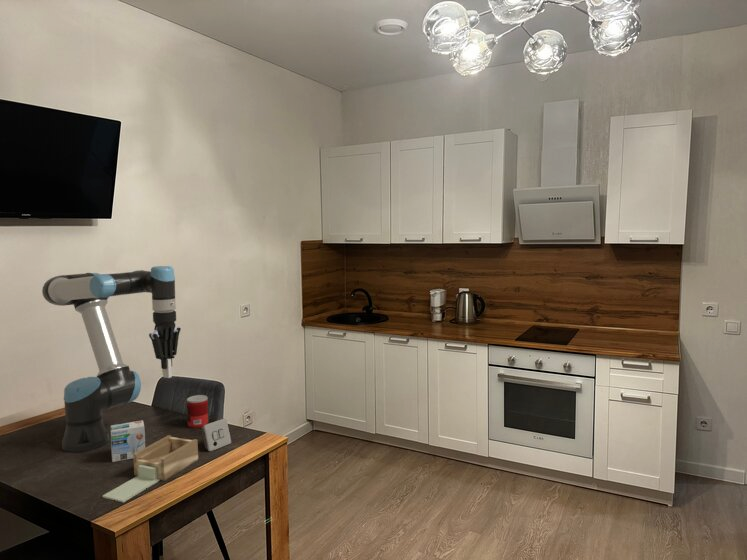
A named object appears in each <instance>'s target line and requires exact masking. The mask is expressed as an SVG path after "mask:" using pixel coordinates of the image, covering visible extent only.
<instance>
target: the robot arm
mask: <svg viewBox="0 0 747 560" xmlns="http://www.w3.org/2000/svg"><path fill="white" fill-rule="evenodd" d="M174 269H175V268H174V267H173V266H170V265H162V266H161V265H160V266H159V265H157V266H152V267H151V269H150V271H148V270H142V269H141V270H133V271H129V272H128V271H127V272H120V273H119V272H118V273H117V272H116V273H103V274H102V273H97V272H86V273H75V274H62V275H57V276H53V277H51V278H49V279H47V280H46V282H45V283H44V284H43V285H42V290H41V293H42V296H43V298H44V299H45V301H47V302H48V303H49V304H52V305H54V306H60V307H61V306H62V307H63V306H65V307H66V306H70V305H73V307H74V310H75V312H77V313H80V314H81V318H82V321H83V324H84V326H85V330H86V333H87V336H88V341H89V343H90V345H91V349H92V352H93V354H94V358H95V362H96V365H97V368H98V373H97V375H96V376H88V377H82V378H78V379H76V380H73V381H71V382H69V383H68V384H67V385H65V387H64V390H63V402H64V413H65V415H64V416H65V429H64V430H65V431H64V434H63V438H62V440H61V449H62V450H63V451H66V452H71V453H75V452H76V453H77V452H87V451H91V450H93V449H97V448H100V447H102V446H104V445H106V444H108V442H109V441H110V434H109V431H108V430H107V427H106V425H105V422H104V420H103V411H106V410H109V409H112V408H115V407H119V406H122V405H126V404H128V403H131V402H134V401H135V400H137V398H138V397H139V396H140V392H141V391H142V390H141V389H142V382H141V377H140V375H139V374H138V373H137V372H136V371H135V370H131V369H130V366H129V365H127V364H125V363H124V362H123V358H122V355H121V352H120V350H119V347H118V344H117V343H118V342H117V340H116V337H115V334H114V330H113V328H112V325H111V321H110V319H109V315H108V313H107V309H106V305H107V304H108V299H109V298H110V297H116V296H125V295H126V296H127V295H132V294H139V293H140V294H141V293H149V294H151V306H152V307H151V308H152V311H153V312H152V321H153V323H154V329H153V332H151V333H148V337H149V338H150V339H151V343H152V347H153V351H154V355H155V358H156V359H157V360H160V364H161V365H160V366H161V369H162V371H161V372H162V378H166V379H170V378H172V377H173V371H172V368H173V359H175V356H176V355H177V354H178V353H177V352H178V344H179V338H180V337H179V335H180V333H181V329H182V328H181V327H177V326H176V321H177V311H176V309H177V308H176V277H175V270H174Z"/></svg>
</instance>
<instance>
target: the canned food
mask: <svg viewBox="0 0 747 560" xmlns="http://www.w3.org/2000/svg"><path fill="white" fill-rule="evenodd" d="M208 399H209V398H208V396H207V395H205V394H197V395H191V396H190V397H187V399H186V412H187V413H186V415H187V426H188V428H190V429H199V428H201V427H204V425H206V424H209V423H210V421H209V420H210V419H209V400H208Z"/></svg>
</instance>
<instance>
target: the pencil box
mask: <svg viewBox="0 0 747 560" xmlns="http://www.w3.org/2000/svg"><path fill="white" fill-rule="evenodd" d="M198 443H199V442H198V438H197V439H196V438H194V439H189V438H187V439H186V438H179V437H174V436H172V435H170V434H168V435H166V436H165V437H163V438H160V439H159V440H157V441H154V442H153V443H151V444H150V445H147V446H145V448H144V449H142V450H140V451H138V452H136V453H134V454H133V458H132V459H133V474H134V476H135V477H137V476H138V475H139V472H138V466H139V465H146V466H151V467H155V468H157V479H159V480H160V481H162V482H165V481H167V480H169V479H170V478H172V477H173V476H174V475H176V474H178V473H179V472H182V470H185V469H186V468H187V467H189V466H191V465H192V464H194V463H195V462H197V461H198V460H199V448H198V445H199V444H198Z"/></svg>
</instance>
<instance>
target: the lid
mask: <svg viewBox="0 0 747 560" xmlns="http://www.w3.org/2000/svg"><path fill="white" fill-rule="evenodd" d="M138 472H139V475H138V476H135V477H133V478H131V479H129V480H128V481H126V482H124V483H122V484H120V485H119V486H118V487H115V488H113V489H112V490H110V491H108V492H106V493H104V494H103V495H102V499H106V500H110V501H114V500H115V501H114V502H119V503H125V502H127V501H128V500H130V499H131V498H133V497H134V496H136V495H139V494H140V493H142V492H143V491H145V490H146V488H147V489H149V488H150V487H152V486H153V485H155V484H156V483H158V482H159V481H161V480H159V479H157V468H155V467H151V466H146V465H139V466H138Z"/></svg>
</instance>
